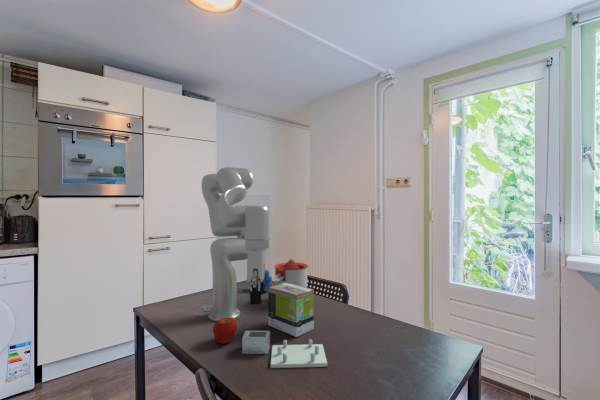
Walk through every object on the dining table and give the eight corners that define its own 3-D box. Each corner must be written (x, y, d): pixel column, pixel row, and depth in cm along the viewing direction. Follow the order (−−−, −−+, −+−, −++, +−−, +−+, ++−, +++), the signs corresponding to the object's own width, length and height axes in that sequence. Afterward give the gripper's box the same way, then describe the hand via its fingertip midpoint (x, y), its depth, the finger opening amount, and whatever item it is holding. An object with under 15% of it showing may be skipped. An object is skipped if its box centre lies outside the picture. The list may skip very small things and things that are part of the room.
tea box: (314, 329, 107) (314, 288, 107) (295, 338, 99) (296, 295, 99) (286, 318, 117) (286, 281, 117) (267, 325, 109) (267, 286, 110)
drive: (242, 354, 89) (242, 337, 89) (245, 346, 94) (245, 330, 94) (268, 354, 89) (268, 337, 89) (270, 346, 94) (270, 330, 94)
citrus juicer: (264, 303, 133) (264, 260, 134) (290, 294, 147) (290, 254, 147) (289, 311, 123) (289, 264, 124) (314, 301, 137) (314, 258, 137)
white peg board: (270, 368, 81) (270, 357, 81) (272, 348, 92) (272, 338, 92) (327, 366, 82) (327, 355, 82) (322, 347, 93) (322, 337, 93)
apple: (211, 338, 99) (212, 315, 99) (235, 334, 102) (235, 312, 102) (214, 348, 92) (214, 324, 92) (239, 344, 95) (239, 320, 95)
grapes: (250, 290, 154) (250, 267, 154) (260, 287, 159) (260, 265, 159) (265, 294, 146) (265, 271, 146) (275, 291, 151) (275, 268, 151)
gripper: (248, 241, 100) (248, 291, 100) (240, 248, 83) (240, 308, 83) (270, 241, 101) (270, 290, 100) (267, 248, 83) (267, 308, 83)
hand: (257, 299), depth 91 cm, fingers open, 9 cm apart
